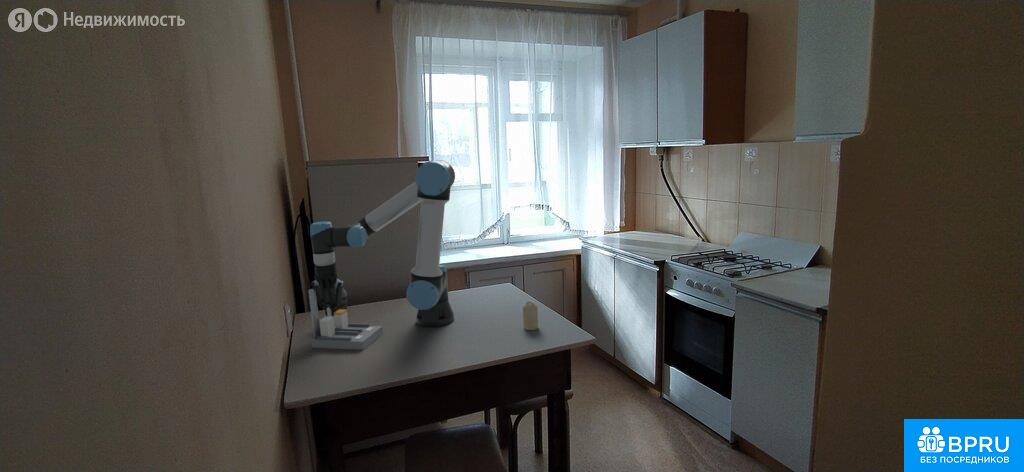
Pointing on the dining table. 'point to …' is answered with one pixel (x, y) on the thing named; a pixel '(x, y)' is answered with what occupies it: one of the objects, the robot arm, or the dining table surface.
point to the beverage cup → (342, 300)
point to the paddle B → (327, 326)
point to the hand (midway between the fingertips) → (332, 323)
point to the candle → (530, 316)
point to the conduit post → (314, 313)
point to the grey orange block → (341, 318)
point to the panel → (349, 337)
